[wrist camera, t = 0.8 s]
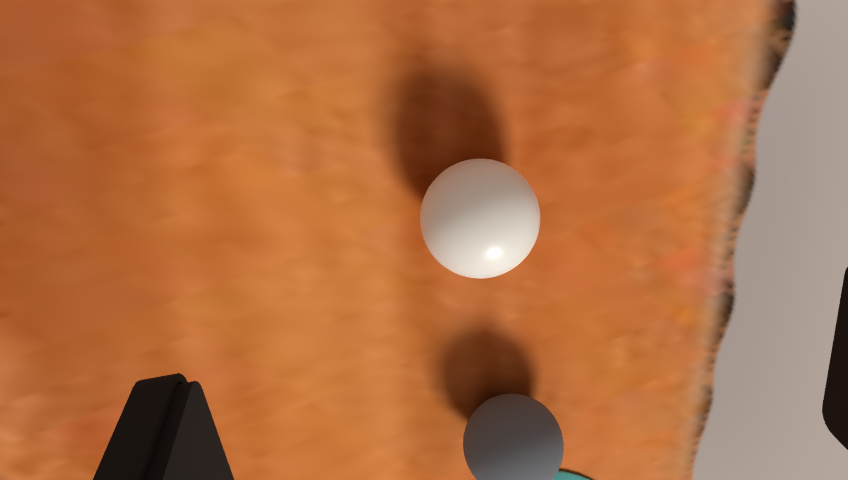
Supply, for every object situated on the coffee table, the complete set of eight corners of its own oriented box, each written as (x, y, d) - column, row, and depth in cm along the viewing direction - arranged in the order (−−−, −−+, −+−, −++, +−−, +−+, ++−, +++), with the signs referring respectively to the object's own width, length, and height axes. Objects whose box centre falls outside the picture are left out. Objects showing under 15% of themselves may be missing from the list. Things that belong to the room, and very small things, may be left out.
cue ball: (404, 155, 32) (417, 199, 27) (516, 132, 32) (549, 171, 27) (424, 255, 34) (439, 312, 30) (528, 233, 35) (560, 286, 30)
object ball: (449, 384, 38) (466, 454, 33) (542, 364, 38) (573, 430, 33) (462, 455, 41) (480, 529, 36) (550, 436, 41) (580, 507, 36)
